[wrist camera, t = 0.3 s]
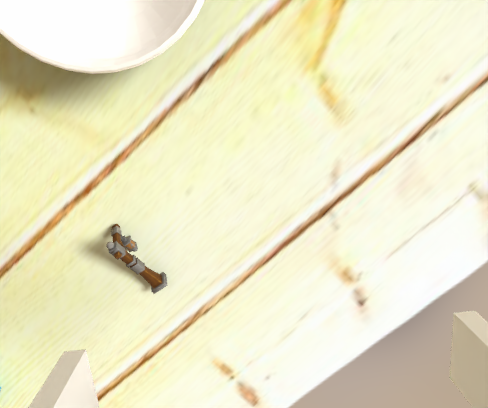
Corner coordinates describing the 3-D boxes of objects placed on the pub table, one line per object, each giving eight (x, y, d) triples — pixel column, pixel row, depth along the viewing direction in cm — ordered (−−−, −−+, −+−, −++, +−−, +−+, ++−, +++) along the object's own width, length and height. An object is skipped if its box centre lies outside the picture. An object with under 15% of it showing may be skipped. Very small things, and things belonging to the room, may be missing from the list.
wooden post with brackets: (115, 215, 40) (115, 244, 36) (163, 257, 45) (167, 286, 41) (101, 224, 40) (100, 254, 37) (150, 265, 45) (153, 295, 42)
